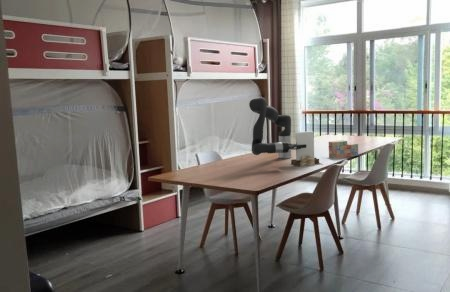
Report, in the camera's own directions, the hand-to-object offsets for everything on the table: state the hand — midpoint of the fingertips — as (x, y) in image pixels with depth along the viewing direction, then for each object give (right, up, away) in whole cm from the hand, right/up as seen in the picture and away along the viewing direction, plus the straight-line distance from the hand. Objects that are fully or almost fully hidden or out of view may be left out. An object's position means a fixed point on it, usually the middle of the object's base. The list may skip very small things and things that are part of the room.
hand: (304, 145), depth 300 cm
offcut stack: (+1, -13, -4) cm, 14 cm away
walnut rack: (+1, -14, -1) cm, 14 cm away
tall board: (+1, -12, +1) cm, 13 cm away
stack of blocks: (+35, -9, +31) cm, 47 cm away
